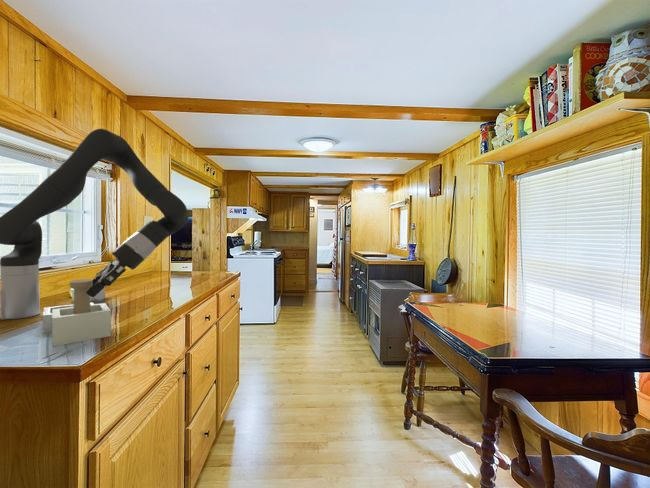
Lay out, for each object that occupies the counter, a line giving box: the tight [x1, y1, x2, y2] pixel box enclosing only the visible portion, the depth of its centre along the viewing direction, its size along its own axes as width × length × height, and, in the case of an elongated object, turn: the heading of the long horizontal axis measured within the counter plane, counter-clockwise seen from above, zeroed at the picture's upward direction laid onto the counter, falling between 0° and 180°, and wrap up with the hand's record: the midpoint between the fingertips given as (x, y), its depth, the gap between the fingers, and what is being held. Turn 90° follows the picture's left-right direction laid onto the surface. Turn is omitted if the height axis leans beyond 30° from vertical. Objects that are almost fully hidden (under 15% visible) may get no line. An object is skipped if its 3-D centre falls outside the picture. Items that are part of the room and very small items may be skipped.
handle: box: [69, 278, 93, 314], centre depth 85 cm, size 5×6×15 cm
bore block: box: [42, 301, 94, 334], centre depth 95 cm, size 12×12×5 cm
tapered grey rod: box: [93, 287, 106, 304], centre depth 117 cm, size 3×25×15 cm, turn 35°
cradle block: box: [52, 302, 112, 347], centre depth 85 cm, size 12×12×7 cm
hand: (87, 292), depth 86 cm, fingers open, 8 cm apart
